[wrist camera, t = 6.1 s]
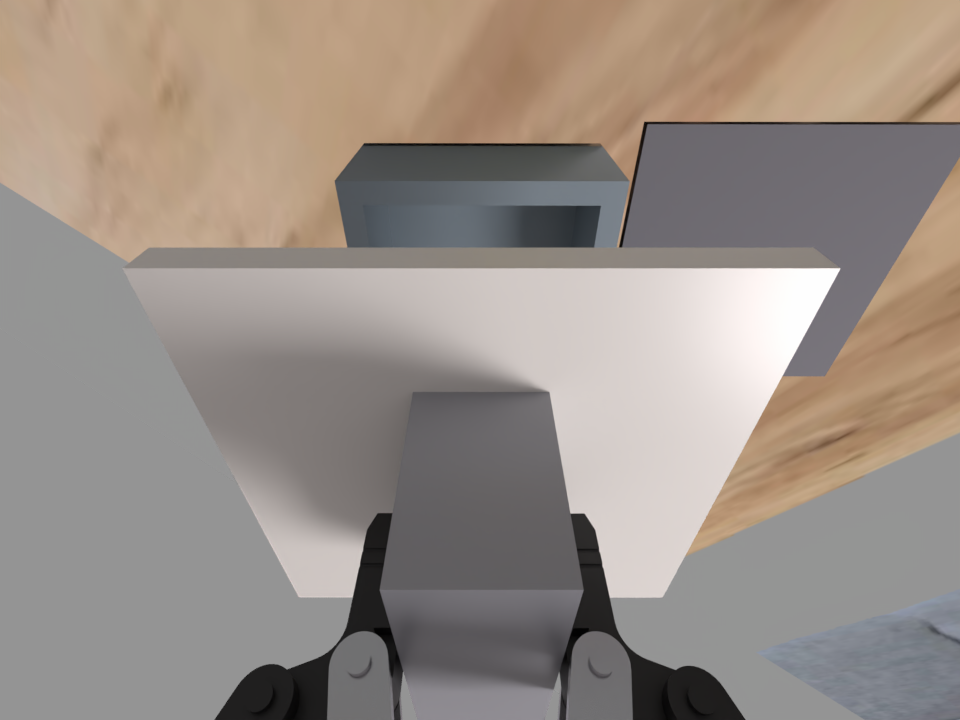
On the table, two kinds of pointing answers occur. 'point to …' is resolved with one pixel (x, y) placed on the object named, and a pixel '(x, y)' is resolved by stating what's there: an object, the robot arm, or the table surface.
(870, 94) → the table surface
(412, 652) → the lid
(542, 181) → the grey storage bin
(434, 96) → the table surface
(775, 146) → the mat
